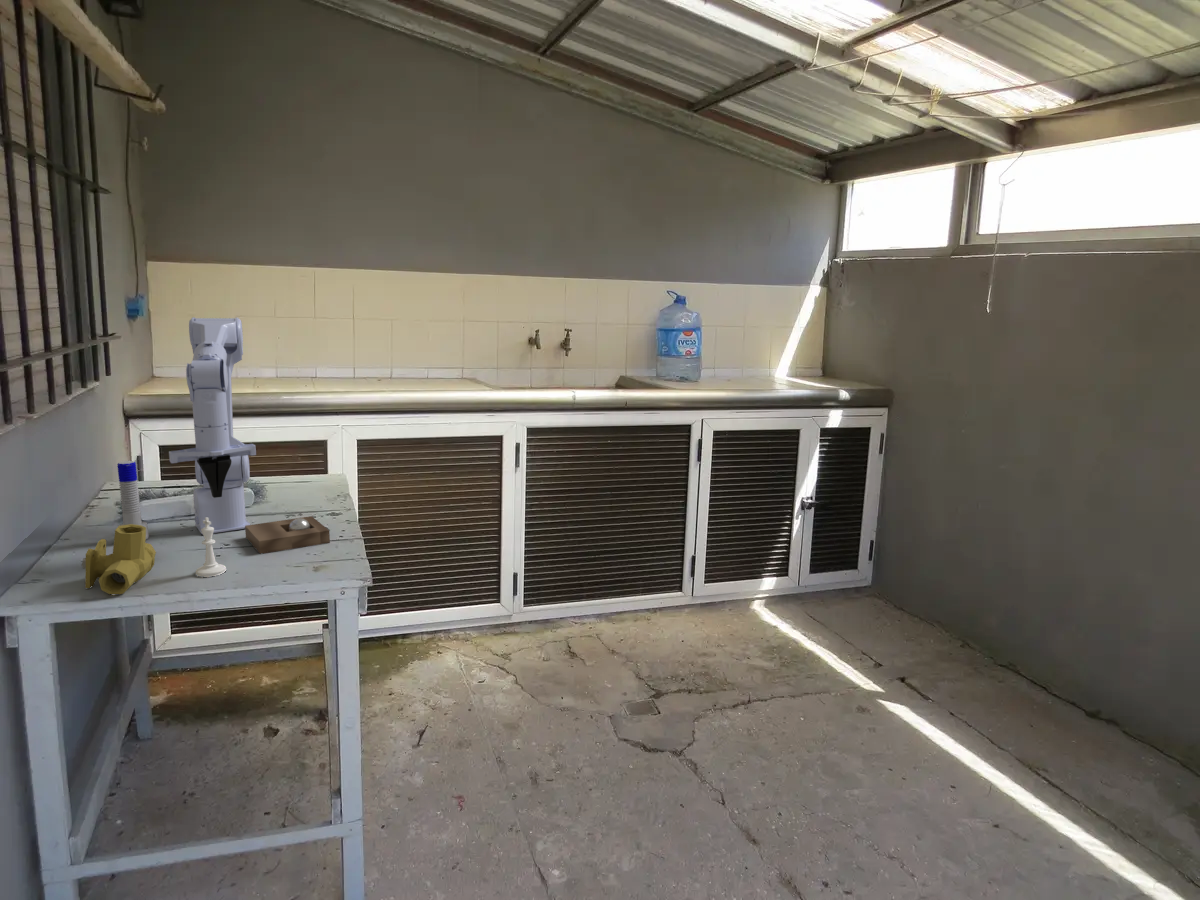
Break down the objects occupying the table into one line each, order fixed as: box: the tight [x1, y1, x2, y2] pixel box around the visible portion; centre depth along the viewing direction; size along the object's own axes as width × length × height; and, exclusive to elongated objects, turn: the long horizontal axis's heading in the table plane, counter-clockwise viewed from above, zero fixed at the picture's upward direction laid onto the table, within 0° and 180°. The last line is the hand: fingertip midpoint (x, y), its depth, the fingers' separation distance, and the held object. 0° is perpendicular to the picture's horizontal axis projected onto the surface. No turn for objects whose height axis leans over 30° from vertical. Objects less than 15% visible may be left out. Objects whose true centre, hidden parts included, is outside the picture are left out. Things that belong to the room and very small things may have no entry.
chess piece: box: [195, 517, 227, 578], centre depth 141 cm, size 5×5×10 cm
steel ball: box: [289, 517, 310, 532], centre depth 162 cm, size 4×4×4 cm
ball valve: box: [81, 524, 157, 595], centre depth 136 cm, size 13×10×10 cm
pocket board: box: [244, 515, 331, 555], centre depth 161 cm, size 13×12×2 cm
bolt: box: [117, 460, 149, 540], centre depth 158 cm, size 16×5×5 cm
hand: (216, 496), depth 153 cm, fingers closed
